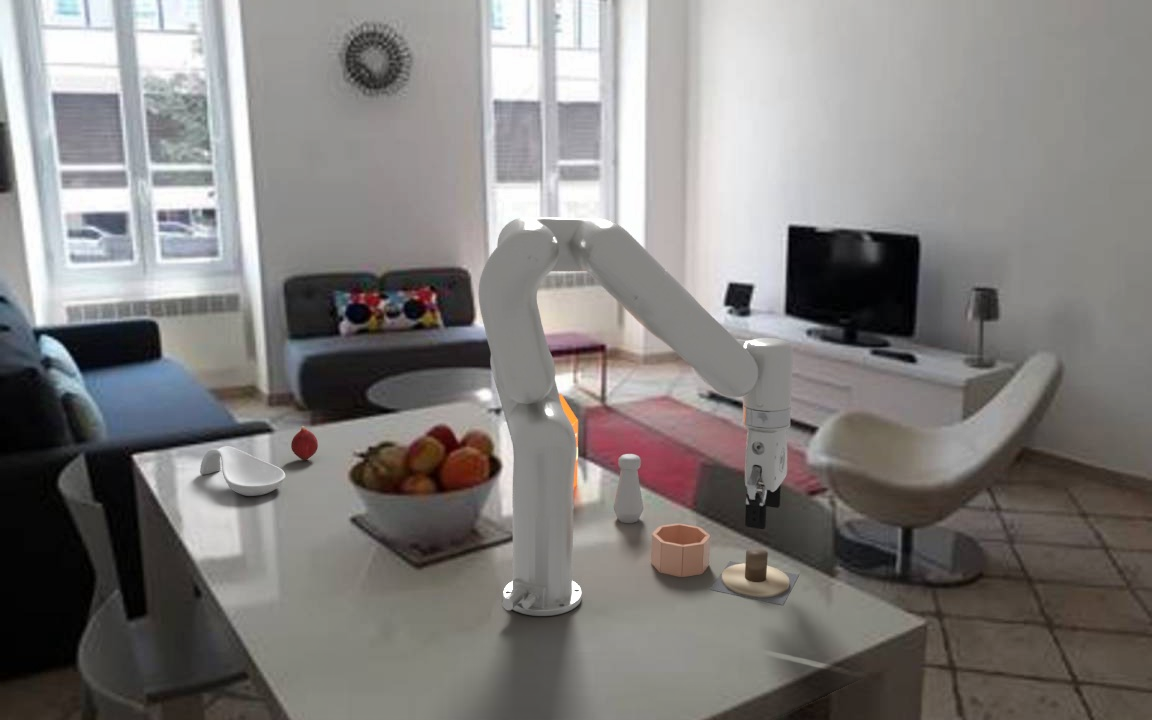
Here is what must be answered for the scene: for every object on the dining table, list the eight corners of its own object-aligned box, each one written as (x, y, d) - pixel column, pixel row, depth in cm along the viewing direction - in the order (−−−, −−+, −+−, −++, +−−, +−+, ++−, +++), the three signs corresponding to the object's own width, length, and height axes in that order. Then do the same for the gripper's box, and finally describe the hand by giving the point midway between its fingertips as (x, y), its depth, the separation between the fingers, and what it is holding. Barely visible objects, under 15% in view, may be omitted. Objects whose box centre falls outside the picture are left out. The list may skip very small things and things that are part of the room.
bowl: (697, 583, 157) (698, 549, 156) (645, 572, 161) (646, 539, 159) (713, 561, 165) (715, 529, 164) (663, 551, 169) (664, 520, 168)
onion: (324, 459, 216) (322, 425, 214) (304, 466, 211) (302, 431, 209) (306, 454, 219) (304, 421, 217) (286, 461, 214) (284, 427, 212)
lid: (780, 602, 149) (782, 572, 148) (713, 588, 154) (715, 558, 153) (795, 575, 159) (797, 546, 158) (732, 562, 164) (733, 534, 162)
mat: (782, 608, 149) (782, 604, 149) (709, 592, 154) (709, 589, 154) (798, 578, 159) (799, 574, 159) (729, 564, 164) (730, 561, 164)
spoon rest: (297, 490, 197) (295, 458, 195) (248, 506, 188) (245, 472, 186) (232, 466, 211) (230, 436, 209) (183, 480, 202) (180, 448, 200)
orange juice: (577, 484, 202) (579, 394, 198) (566, 499, 194) (567, 405, 189) (543, 480, 204) (543, 391, 200) (530, 494, 196) (530, 402, 191)
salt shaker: (643, 514, 186) (645, 451, 183) (642, 525, 181) (644, 461, 178) (614, 512, 187) (615, 450, 184) (612, 524, 181) (613, 459, 178)
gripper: (777, 433, 141) (773, 540, 145) (801, 404, 156) (797, 501, 160) (728, 428, 144) (725, 532, 148) (756, 400, 159) (753, 495, 163)
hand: (762, 516), depth 154 cm, fingers open, 9 cm apart
